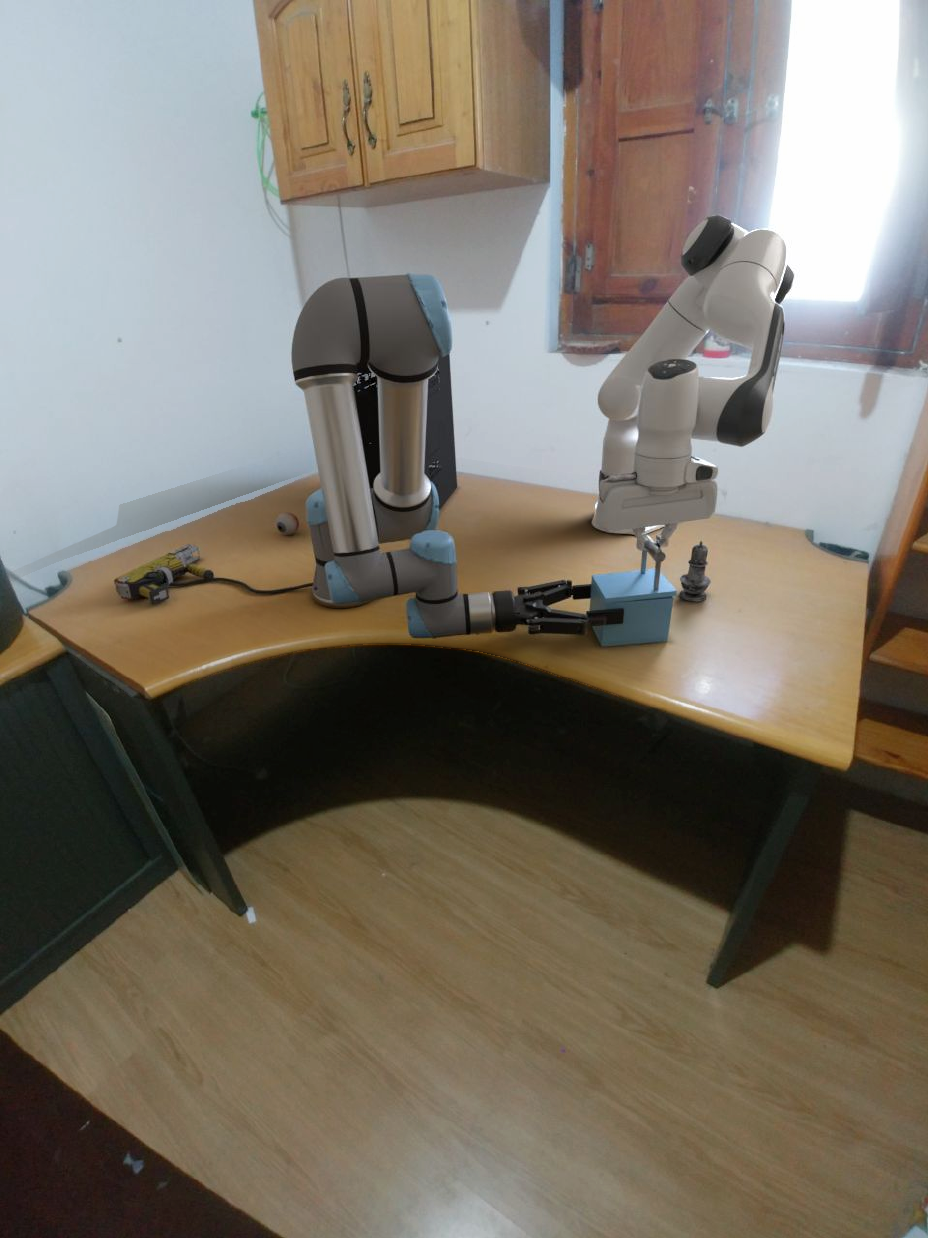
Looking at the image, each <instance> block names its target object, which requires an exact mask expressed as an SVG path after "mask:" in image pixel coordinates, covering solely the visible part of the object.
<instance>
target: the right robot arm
mask: <svg viewBox="0 0 928 1238" xmlns="http://www.w3.org/2000/svg"><path fill="white" fill-rule="evenodd" d="M788 251H789V249H788V245H787V242H786V240H785V238H784V237H783V236H782V235H781V234H780V233H779V232H777V231H775V230H773V229H770V228H757V229H754V230H752V231H749V232H748V231H747V230H746V229H744V228H742V227H740V226H738V225H737V224H736V223H735V224H734V223H733V221H732V219H730V218H729V217H725V216H724V215H721V214H713V215H710V216H707V217H706V218H705V219H704V220H703V221H702V222H700V223H699V224H698V225H696V226H695V227H694V229H693V230H692V231H691V232H690V233H689V235H688V237H687V238H686V241H685V243H684V246H683V249H682V252H681V253H680V265H681V266H682V268H683V270H684V271H685V272H686V273H687V275H688V276H687V277H686V278H685V279H684V280H683V282H681V284H680V285H679V286H678V287H677V289H675V291H674V292H673V293H672V294H671V296H670V297H669V298H668V300H667V301H666V303H665V304H664V305H663V306H662V308H661V309H660V310H659V312H658V313H657V315H656V316H655V317H654V319H653V320H652V322H651V323H650V324H649V326H648V327H647V328H646V329H645V331H644V332H643V333H642V334H641V336H640V337H639V338H638V339H637V340H636V341H635V343H634V344H633V345H632V346H631V347H630V349H629V350H628V351H627V352H626V353H625V355H624V356H623V357H622V358H621V360H619V362H618V363H617V364H616V366H615V367H614V368H613V370H612V371H611V372H610V373H609V374H608V376H607V377H606V378H605V380H604V381H603V382H602V384H601V385H600V386H601V387H600V388H599V391H598V394H597V405H598V409H599V410H600V412H601V413H602V415H603V416H604V417H605V418H607V419H608V422H607V425H606V430H605V433H604V436H603V440H602V453H601V468H600V470H599V474H598V492H599V493H598V498H597V502H596V503H595V506H594V509H595V511H594V514H593V517H592V520H591V525H592V526H593V527H594V528H595V529H597V530H599V531H601V532H605V533H611V534H623V535H625V534H626V535H632V536H633V535H634V537H635V538H636V549H637V550H639V551H640V552H642V550H647V549H649V546H648V545H649V542H650V541H649V540H648V539H647V538H645V537H643V535H648V534H650V533H652V532H654V531H657V530H660V529H662V528H663V529H662V530H661V533H660V534H657V535H655V540H654V542H655V543H656V544H657V545H658V547H659V548H660V549H661V548H667V547H669V539H670V538H671V536H672V535H673V534H674V532H676V530H677V527H678V523H687V522H693V521H700V520H701V521H702V520H707V519H710V518H711V517H712V516H713V515H714V514H715V512H716V507H717V502H718V501H717V500H718V490H719V489H718V488H719V487H718V484H717V483H718V482H717V481H716V480H715V479H717V477H718V475H719V467H718V466H716V465H715V464H713V463H711V462H709V461H707V460H705V459H702V458H700V457H697V456H694V455H692V453H693V446H692V440H700V441H709V442H716V443H720V444H725V445H728V446H729V445H730V446H734V447H735V446H736V447H740V448H743V447H745V446H747V445H749V444H751V443H753V442H755V441H756V440H758V439H759V438H760V437H762V436H763V435H764V434H765V433H766V431H767V429H768V427H769V425H770V423H771V419H772V415H773V408H774V407H773V406H774V403H773V402H774V396H773V395H774V390H775V383H776V380H777V374H778V369H779V364H780V359H781V355H782V348H783V341H784V336H785V326H786V325H785V324H786V323H785V322H786V320H785V318H786V316H785V310H784V307H783V306H782V305H781V304H782V303H783V302H784V300H785V299H786V298H787V297H788V294H789V292H790V291H791V289H792V287H793V285H794V281H795V272H794V270H793V269H792V267H791V265H790V264H789V263H788V262H787V261H788V253H789V252H788ZM710 331H711V332H712V333H713V334H714V335H715V336H717V337H718V338H719V339H721V340H723V341H725V342H727V343H731V344H735V345H738V346H740V347H743V348H745V349H747V350H750V351H751V352H752V353H751V357H750V361H749V368H748V371H747V374H745V375H743V376H740V377H733V378H732V377H728V378H727V377H708V376H701V375H700V376H699V367H698V366H699V365H698V364H697V363H696V362H694V361H692V360H690V359H688V357H690V355H691V354H692V352H693V351H694V350H695V349H696V347H698V345H699V344H700V343H701V342H702V340H703V339H704V338H705V336H706V335H707V334H708V333H709V332H710Z"/></svg>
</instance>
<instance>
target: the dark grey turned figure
mask: <svg viewBox="0 0 928 1238" xmlns="http://www.w3.org/2000/svg"><path fill="white" fill-rule="evenodd" d="M708 553H709V549H708V547H707V546H706V545H705V544H704V542H703V541H702V540H700V542H699V543H698V544H695V545H694V546H693V547H692V550H691V555H690V559H689V560H688V562H687V563H688V565H689V567H688V572H687V573H685V574H682V575H681V576H680V577H679V581H680V585H681V587H682V590H680V591H679V594H678V595H679V597H680V598H681V599H683V600H685V601H689V602H694V603H695V602H703V601H705V600H706V599H707V596H708V595H707V594H706V590H707V589H708V588H709V586H710V585H711V583H712V581H711V578H709V577H708V576H706V573H705V572H706V567H707V566H708V564H709V563H708V561H707V557H708Z"/></svg>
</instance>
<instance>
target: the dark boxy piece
mask: <svg viewBox="0 0 928 1238" xmlns="http://www.w3.org/2000/svg"><path fill="white" fill-rule="evenodd" d="M450 355H451V354H450V353H449V354H448V355H446V356H444V357H442V356H439V357H438V368H437V371H436V373H435V374H434V375H433V376H432V377H431V378H430V379H428V394H427V418H426V441H425V464H424V474H425V475H426V476H427V477H428V479H429V481H431V482H432V483H433V484H434V485H435V487H436V490H437V494H438V499H439V506H438V508H439V512H440V511H441V510H442V508H443V507H444V505H445V504H446V503H447V501H448V500H449V499H450V498H451V496H452V495H453V493H454V492H455V491H456V489H457V488H458V478H457V477H458V475H457V459H456V441H455V424H454V407H453V391H452V390H453V389H452V388H453V387H452V375H451V373H452V372H451V358H450V357H451V356H450ZM356 364H357V371H358V379H357V380H356V382H355V383H354V386H353V388H354V394H355V400H356V407H357V413H358V419H359V425H360V431H361V437H362V444H363V450H364V456H365V462H366V468H367V474H368V480H369V487H370V489H371V488H374V480H375V478H376V477H377V475H378V474H379V473H380V472H381V470H380V440H379V410H378V381H377V376H375V375H374V374H373V373H372V372H371V371H370V369H369V367H368V363H356Z"/></svg>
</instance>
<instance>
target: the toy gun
mask: <svg viewBox="0 0 928 1238" xmlns="http://www.w3.org/2000/svg"><path fill="white" fill-rule="evenodd" d="M196 552H197V554H198V555H197V556H196V555H193V554H194V553H196ZM200 559H201V555H200V549H199V546H198V545H195V544H193V545H192V544H190V543H188V544H187V545H185V546H183V547H181V548H179V549H177V550H174V551H173V552H168V553H166V554H164V555H161V556H160V557H158V558H155V559H154V560H151V561H150V562H147V563H145V564H142V565H140V566H138V567H137V568H135V569H132V570H130V571H128V572H126V573H123V574H122V575H120V576H118V577H116V578H114V580H113V584H114V586H115V590H116V593H117V594H118V596H119V597H120V599H122V600H126V601H127V600H129V599H133V600H135V599H141V598H144V597H145V598H147V599H149V600H150V604H151V606H155V605H158V604H160V603H163V601H167V600H169V599H170V595H169V590H168V587H169V586H168V585H169V584H170V583H174V580H175V579H177V578H180V577H183V576H185V575H186V574H187V573H188V574H190V575H192V576H196V577H199V579H205V580H209V579H210V578H215V574H214V571H212V570H211V569H207V568H205V567H203V566H199V565H196V564H194V563H195V562H196V561H197V560H200Z"/></svg>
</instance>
